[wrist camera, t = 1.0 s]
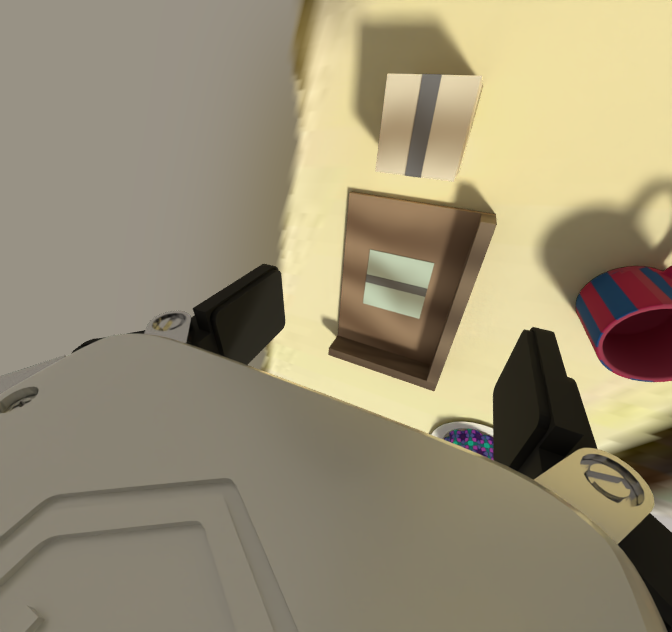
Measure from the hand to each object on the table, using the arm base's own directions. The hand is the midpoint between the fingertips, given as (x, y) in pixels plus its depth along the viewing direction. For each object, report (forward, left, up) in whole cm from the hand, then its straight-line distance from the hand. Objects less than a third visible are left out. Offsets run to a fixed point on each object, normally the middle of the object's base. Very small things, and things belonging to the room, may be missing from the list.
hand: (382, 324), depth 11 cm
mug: (+4, +17, -22) cm, 28 cm away
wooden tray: (+10, -3, -21) cm, 24 cm away
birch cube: (-6, -3, -21) cm, 22 cm away
